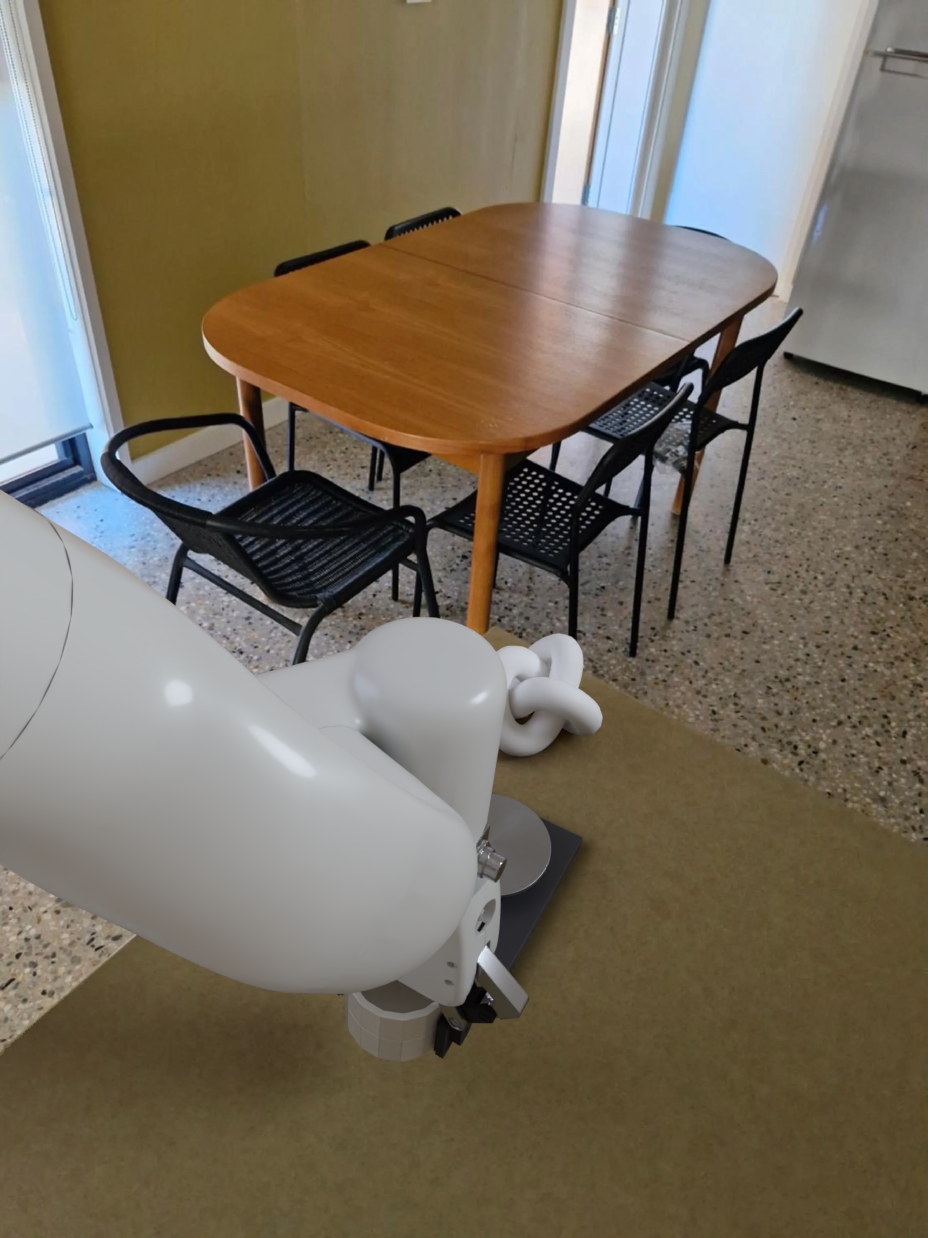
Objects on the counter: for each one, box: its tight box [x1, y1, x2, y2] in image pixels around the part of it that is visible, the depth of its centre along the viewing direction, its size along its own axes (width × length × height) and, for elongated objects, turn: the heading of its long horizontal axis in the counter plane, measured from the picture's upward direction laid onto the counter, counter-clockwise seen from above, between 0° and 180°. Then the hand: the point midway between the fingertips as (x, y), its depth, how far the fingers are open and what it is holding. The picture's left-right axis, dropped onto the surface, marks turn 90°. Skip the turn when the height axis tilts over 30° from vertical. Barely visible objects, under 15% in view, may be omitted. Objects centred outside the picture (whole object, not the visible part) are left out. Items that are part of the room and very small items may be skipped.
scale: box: [494, 816, 584, 974], centre depth 72 cm, size 16×14×3 cm
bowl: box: [343, 980, 443, 1063], centre depth 56 cm, size 7×7×6 cm
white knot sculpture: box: [495, 632, 603, 758], centre depth 84 cm, size 11×12×9 cm
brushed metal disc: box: [487, 793, 551, 898], centre depth 72 cm, size 10×10×1 cm
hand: (399, 1005), depth 58 cm, fingers closed on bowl, 7 cm apart
